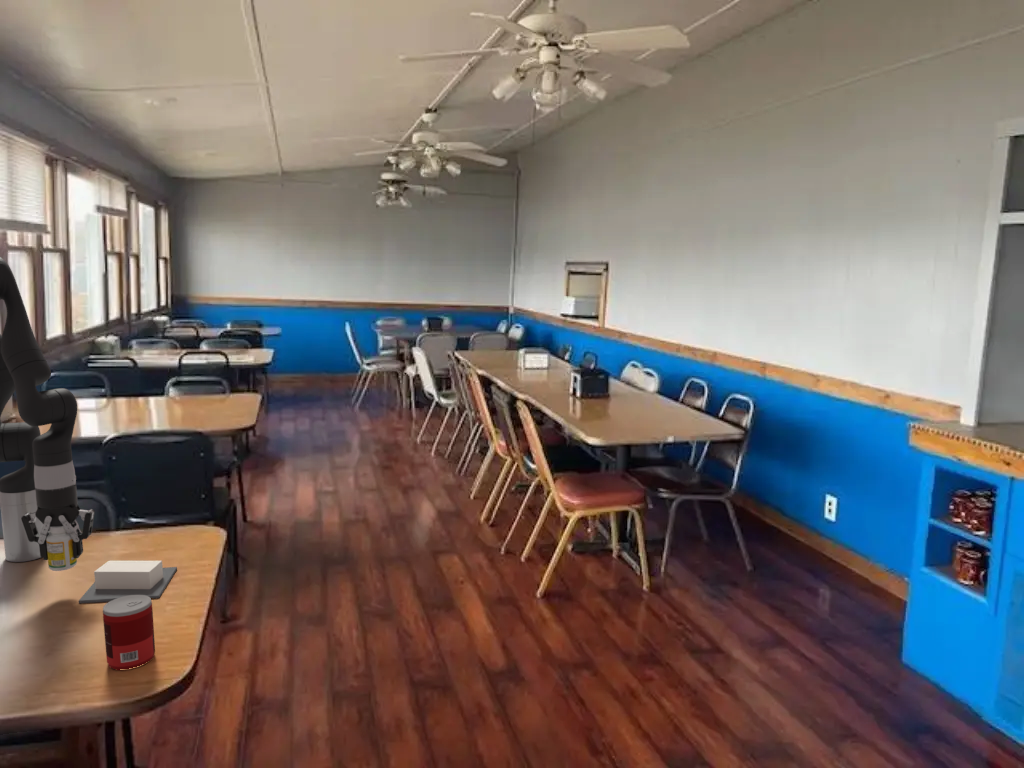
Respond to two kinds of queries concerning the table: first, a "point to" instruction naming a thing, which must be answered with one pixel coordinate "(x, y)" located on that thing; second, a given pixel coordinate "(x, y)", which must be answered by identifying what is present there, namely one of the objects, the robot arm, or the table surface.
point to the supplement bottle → (60, 549)
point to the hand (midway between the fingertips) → (62, 557)
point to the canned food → (129, 631)
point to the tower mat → (128, 590)
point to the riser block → (128, 575)
